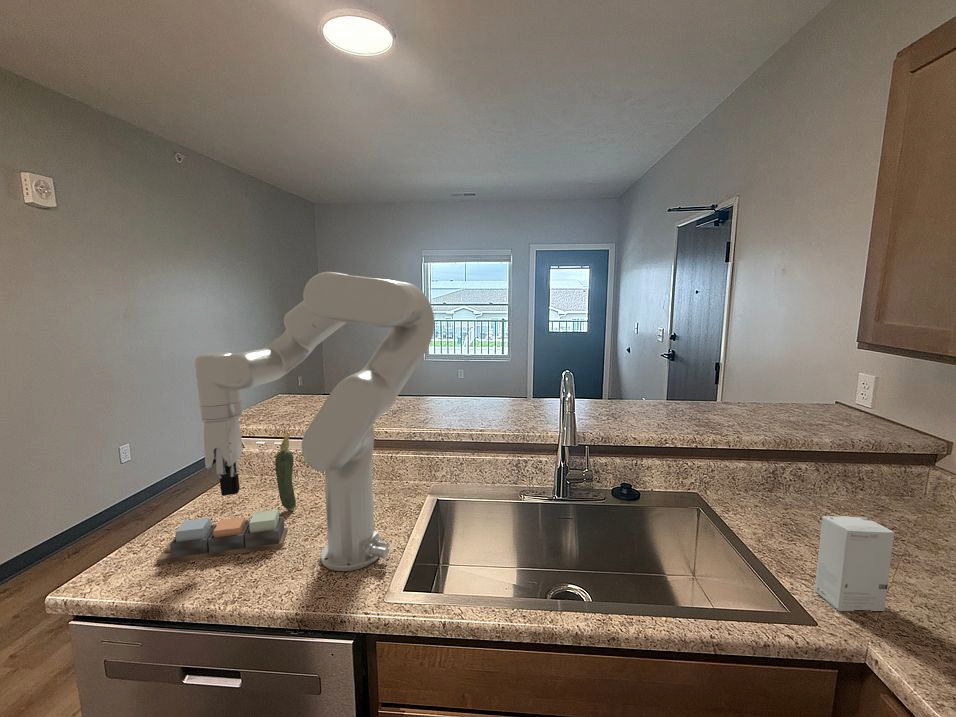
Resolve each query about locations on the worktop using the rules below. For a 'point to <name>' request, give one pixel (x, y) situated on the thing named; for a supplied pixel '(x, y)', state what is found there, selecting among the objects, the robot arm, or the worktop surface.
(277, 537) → the gray compartment tray
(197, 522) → the slate key
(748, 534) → the worktop surface
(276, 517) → the sage key
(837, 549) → the skincare box
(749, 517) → the worktop surface
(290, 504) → the vegetable
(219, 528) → the terracotta key
